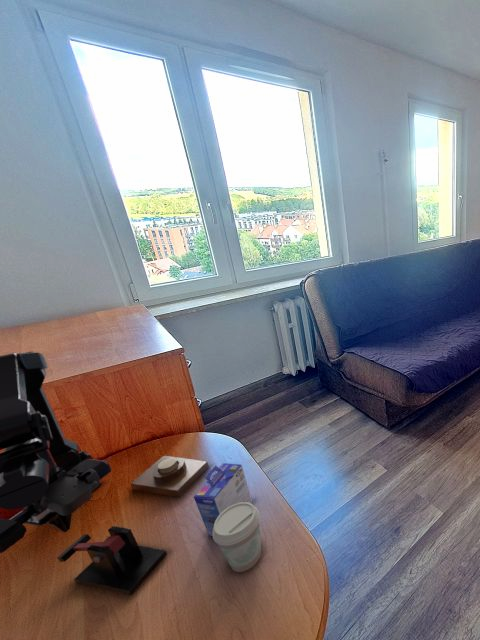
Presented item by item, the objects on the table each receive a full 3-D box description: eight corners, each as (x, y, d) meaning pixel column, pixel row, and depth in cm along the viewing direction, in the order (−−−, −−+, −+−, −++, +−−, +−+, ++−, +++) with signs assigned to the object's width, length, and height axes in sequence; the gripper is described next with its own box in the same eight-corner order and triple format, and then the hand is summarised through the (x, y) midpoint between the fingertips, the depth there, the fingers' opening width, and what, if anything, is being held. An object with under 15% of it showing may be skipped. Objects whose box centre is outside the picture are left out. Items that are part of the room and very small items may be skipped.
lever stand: (75, 583, 66) (58, 553, 63) (116, 544, 74) (102, 516, 71) (131, 595, 65) (116, 565, 61) (167, 553, 72) (155, 525, 69)
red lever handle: (62, 564, 68) (54, 555, 67) (88, 540, 72) (82, 532, 71) (107, 561, 64) (100, 553, 64) (132, 537, 69) (126, 528, 68)
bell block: (132, 489, 87) (128, 478, 86) (166, 461, 97) (162, 450, 95) (179, 497, 85) (175, 485, 84) (209, 467, 95) (205, 456, 93)
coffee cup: (222, 587, 66) (208, 546, 62) (224, 549, 73) (212, 509, 69) (269, 566, 70) (259, 526, 65) (266, 532, 77) (257, 493, 72)
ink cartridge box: (233, 498, 85) (220, 454, 80) (253, 500, 84) (242, 456, 79) (205, 535, 76) (189, 488, 71) (228, 538, 75) (213, 490, 70)
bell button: (155, 472, 88) (153, 467, 87) (168, 461, 92) (167, 456, 91) (168, 474, 88) (167, 469, 87) (181, 463, 91) (179, 458, 91)
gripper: (0, 524, 52) (42, 588, 58) (120, 442, 69) (143, 497, 75) (-55, 514, 54) (-9, 577, 59) (76, 436, 71) (101, 490, 76)
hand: (65, 530), depth 67 cm, fingers closed
